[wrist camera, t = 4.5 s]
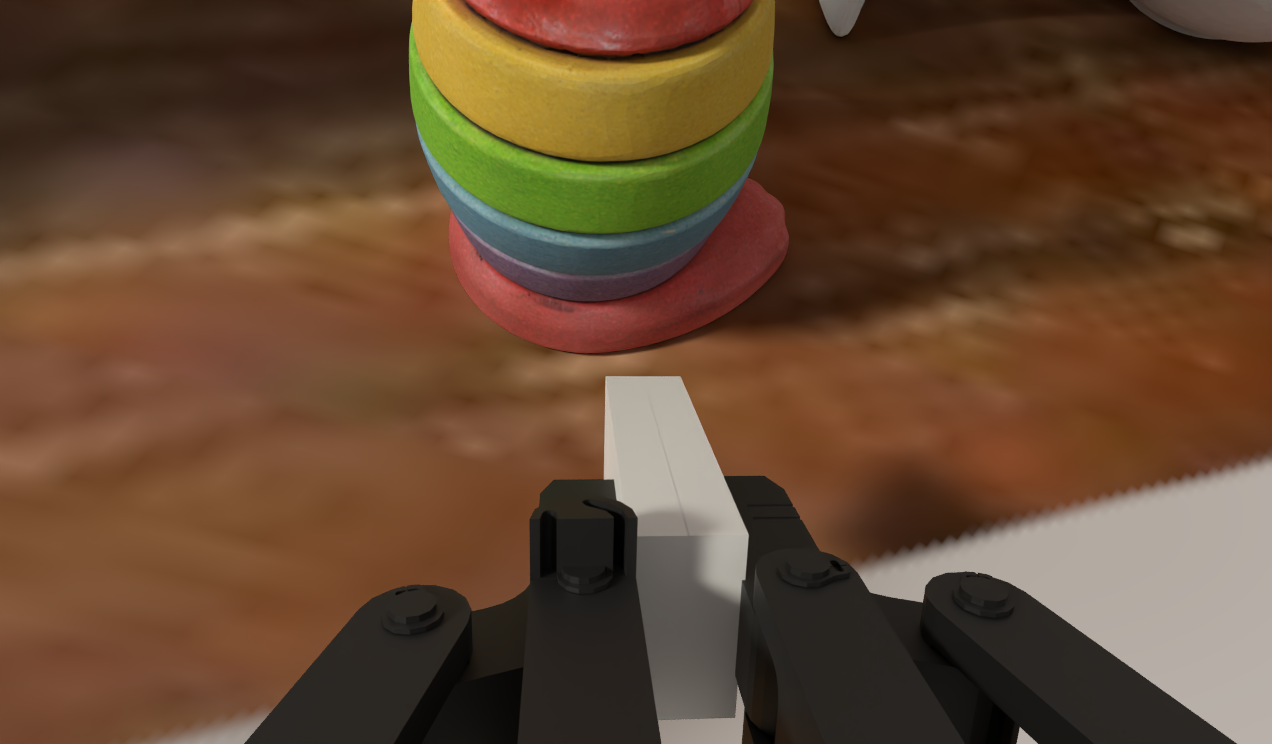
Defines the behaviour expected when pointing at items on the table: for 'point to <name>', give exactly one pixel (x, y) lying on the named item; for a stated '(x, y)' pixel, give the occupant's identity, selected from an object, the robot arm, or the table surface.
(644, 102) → the stacking bear
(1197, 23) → the spoon rest
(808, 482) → the table surface
